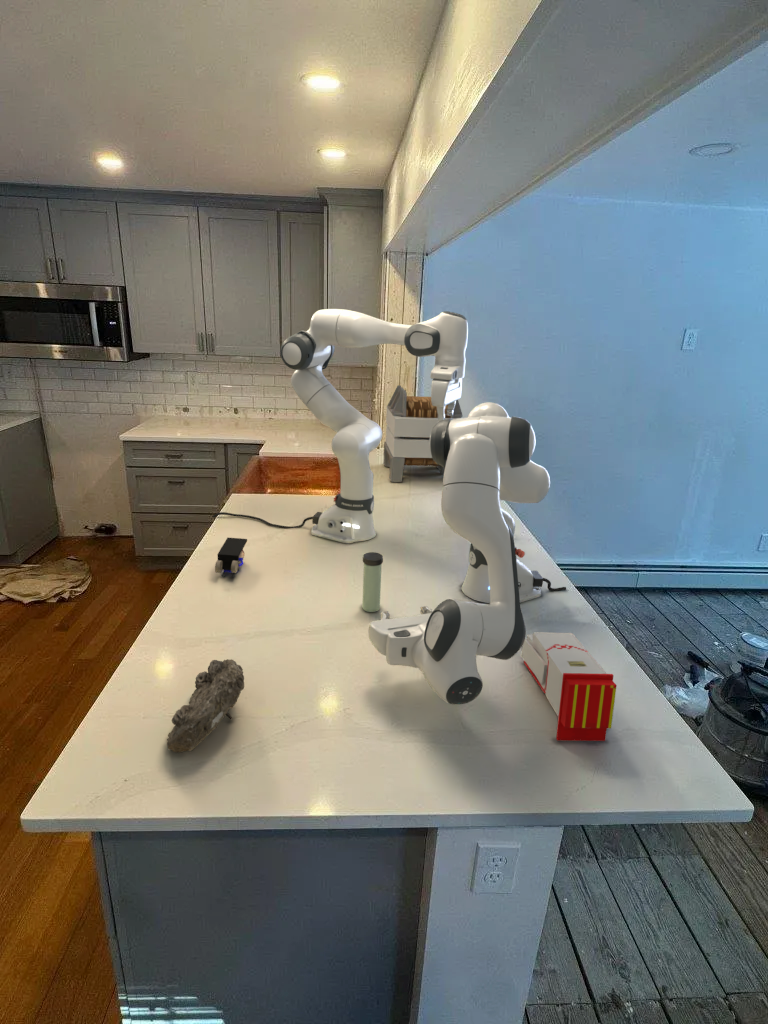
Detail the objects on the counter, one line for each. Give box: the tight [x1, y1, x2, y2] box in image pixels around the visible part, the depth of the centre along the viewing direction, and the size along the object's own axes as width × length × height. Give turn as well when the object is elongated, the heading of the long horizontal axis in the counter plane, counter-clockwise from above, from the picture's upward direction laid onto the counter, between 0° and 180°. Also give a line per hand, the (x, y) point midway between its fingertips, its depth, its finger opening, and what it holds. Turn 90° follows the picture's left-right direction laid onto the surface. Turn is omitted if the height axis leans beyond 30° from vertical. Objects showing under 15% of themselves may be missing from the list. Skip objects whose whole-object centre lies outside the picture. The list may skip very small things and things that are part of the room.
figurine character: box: [214, 537, 248, 578], centre depth 166 cm, size 7×8×15 cm
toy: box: [520, 631, 618, 742], centre depth 117 cm, size 12×13×30 cm
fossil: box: [166, 658, 245, 754], centre depth 106 cm, size 22×10×15 cm
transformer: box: [383, 384, 463, 483], centre depth 268 cm, size 34×33×41 cm
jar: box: [361, 563, 383, 613], centre depth 148 cm, size 5×5×14 cm
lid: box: [362, 551, 384, 566], centre depth 145 cm, size 5×5×2 cm
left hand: (445, 417), depth 170 cm, fingers open, 8 cm apart
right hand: (403, 611), depth 126 cm, fingers open, 8 cm apart
